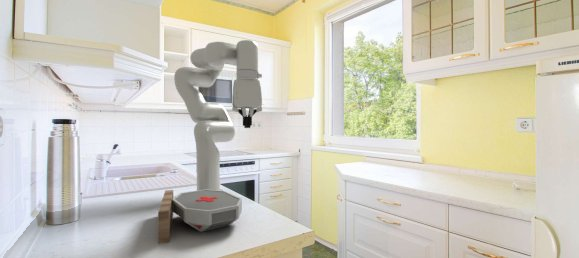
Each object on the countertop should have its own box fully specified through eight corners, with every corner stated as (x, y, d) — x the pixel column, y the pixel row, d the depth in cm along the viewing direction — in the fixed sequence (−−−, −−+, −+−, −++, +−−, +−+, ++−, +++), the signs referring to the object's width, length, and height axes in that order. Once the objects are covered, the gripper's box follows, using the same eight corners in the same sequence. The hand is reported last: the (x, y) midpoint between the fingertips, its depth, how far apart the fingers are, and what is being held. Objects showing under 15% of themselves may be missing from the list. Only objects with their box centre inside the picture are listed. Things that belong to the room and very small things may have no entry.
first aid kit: (166, 217, 95) (192, 243, 75) (166, 194, 95) (192, 214, 75) (217, 208, 105) (252, 228, 86) (217, 187, 105) (251, 202, 85)
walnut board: (165, 214, 98) (165, 190, 98) (173, 213, 99) (173, 189, 99) (158, 243, 75) (158, 212, 74) (169, 241, 76) (168, 211, 75)
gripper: (264, 79, 110) (264, 127, 110) (224, 77, 105) (224, 127, 105) (270, 76, 103) (270, 128, 103) (227, 73, 98) (227, 128, 98)
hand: (247, 127), depth 104 cm, fingers closed
